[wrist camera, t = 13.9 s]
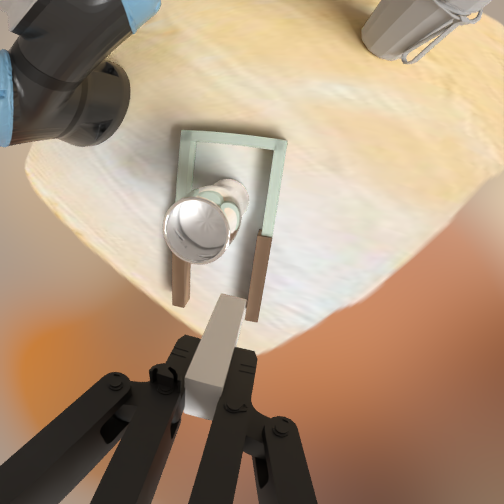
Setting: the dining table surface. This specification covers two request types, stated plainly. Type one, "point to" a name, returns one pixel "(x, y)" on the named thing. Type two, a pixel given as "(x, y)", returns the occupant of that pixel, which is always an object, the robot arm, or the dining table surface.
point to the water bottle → (415, 25)
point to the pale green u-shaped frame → (277, 145)
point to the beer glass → (205, 221)
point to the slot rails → (256, 285)
